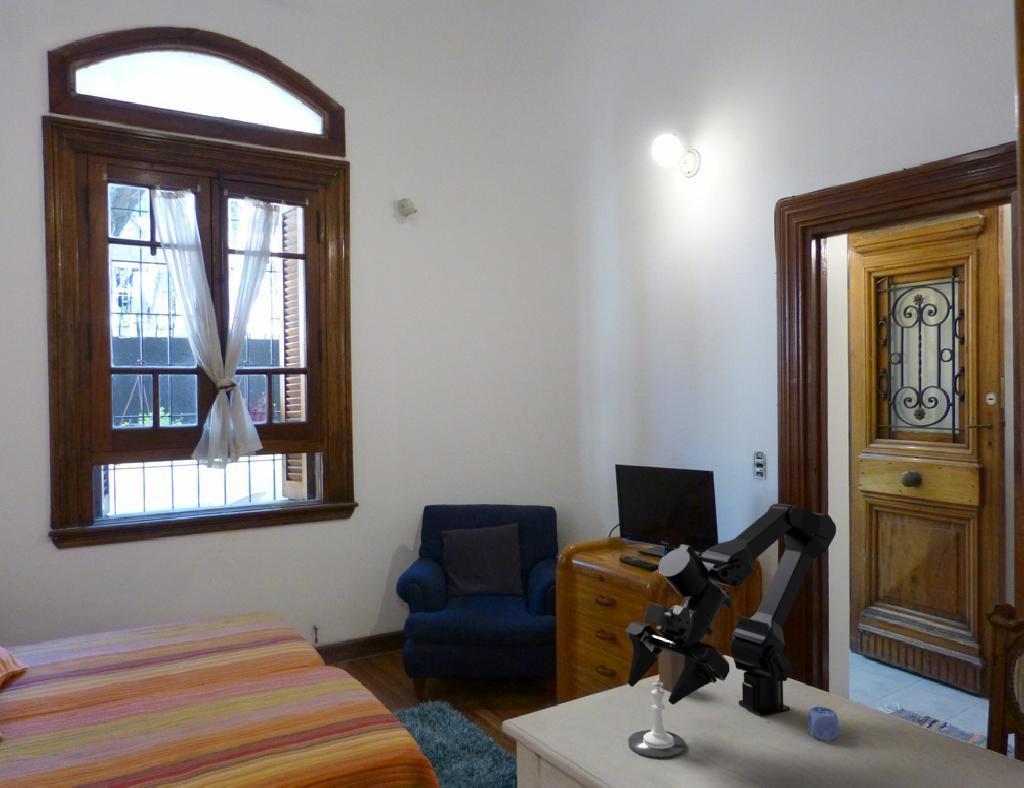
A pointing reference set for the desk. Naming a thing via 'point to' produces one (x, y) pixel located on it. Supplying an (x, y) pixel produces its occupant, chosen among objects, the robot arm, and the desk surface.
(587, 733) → the desk surface
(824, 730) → the decorative dice
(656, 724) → the chess piece
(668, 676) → the wooden block
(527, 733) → the desk surface
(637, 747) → the carrier plate
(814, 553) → the robot arm
